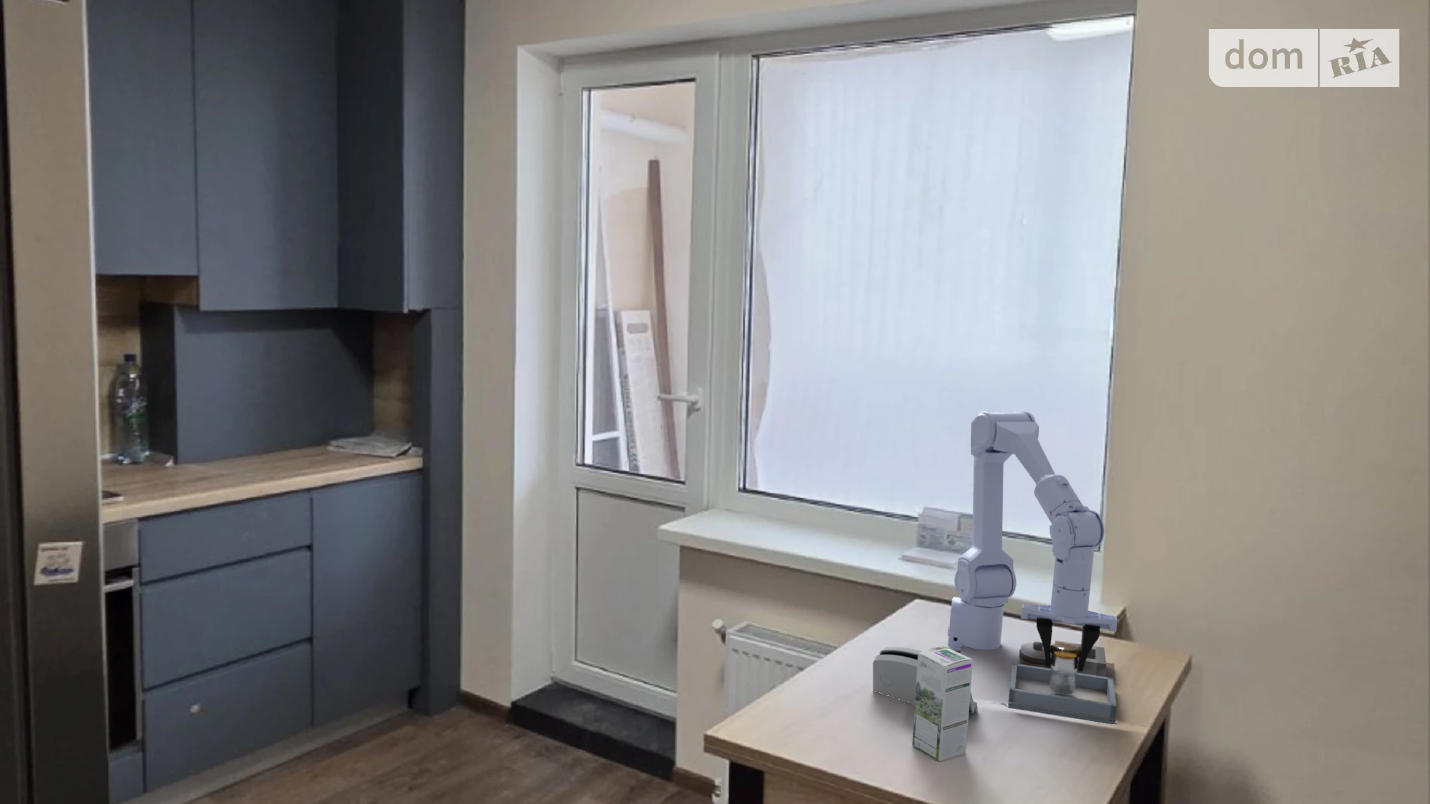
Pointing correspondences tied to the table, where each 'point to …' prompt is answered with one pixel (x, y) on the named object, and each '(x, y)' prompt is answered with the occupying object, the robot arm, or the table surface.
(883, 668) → the grey toaster
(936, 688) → the syrup box
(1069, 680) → the gold-rimmed cylinder
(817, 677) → the table surface
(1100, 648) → the board
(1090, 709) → the tray
